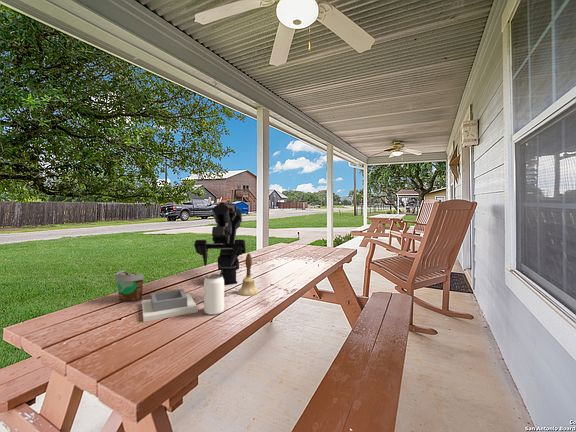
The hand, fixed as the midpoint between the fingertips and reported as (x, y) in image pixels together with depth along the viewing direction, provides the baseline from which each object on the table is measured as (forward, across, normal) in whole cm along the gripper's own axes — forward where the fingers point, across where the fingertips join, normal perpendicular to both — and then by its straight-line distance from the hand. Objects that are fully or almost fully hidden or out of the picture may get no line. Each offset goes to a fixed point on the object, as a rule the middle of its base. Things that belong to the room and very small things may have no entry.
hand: (217, 265), depth 100 cm
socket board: (+13, -16, +6) cm, 21 cm away
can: (+16, 0, +4) cm, 16 cm away
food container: (+7, -34, +13) cm, 37 cm away
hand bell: (+2, +10, +18) cm, 20 cm away
